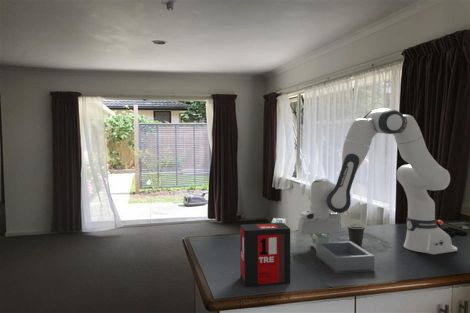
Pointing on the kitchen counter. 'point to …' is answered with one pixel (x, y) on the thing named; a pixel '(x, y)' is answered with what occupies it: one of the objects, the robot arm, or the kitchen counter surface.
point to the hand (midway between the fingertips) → (319, 242)
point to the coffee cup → (356, 234)
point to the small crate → (319, 239)
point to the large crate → (344, 257)
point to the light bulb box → (279, 220)
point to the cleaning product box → (264, 254)
